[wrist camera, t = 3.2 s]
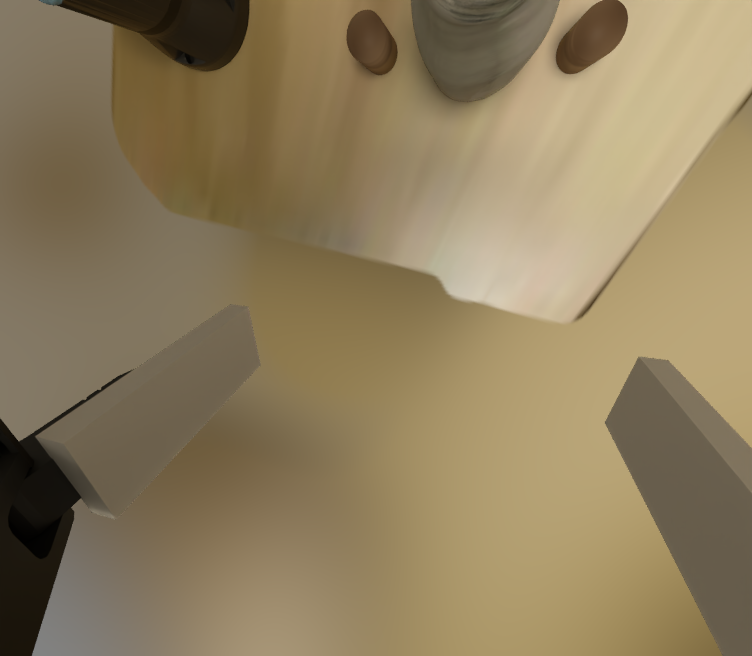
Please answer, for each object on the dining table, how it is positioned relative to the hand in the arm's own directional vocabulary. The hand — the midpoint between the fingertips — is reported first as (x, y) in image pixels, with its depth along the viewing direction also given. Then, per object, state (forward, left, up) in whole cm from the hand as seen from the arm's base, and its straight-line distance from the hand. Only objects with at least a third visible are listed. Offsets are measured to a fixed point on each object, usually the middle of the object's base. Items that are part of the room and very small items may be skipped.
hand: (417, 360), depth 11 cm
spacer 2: (-5, +19, -39) cm, 43 cm away
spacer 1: (-19, +3, -39) cm, 43 cm away
